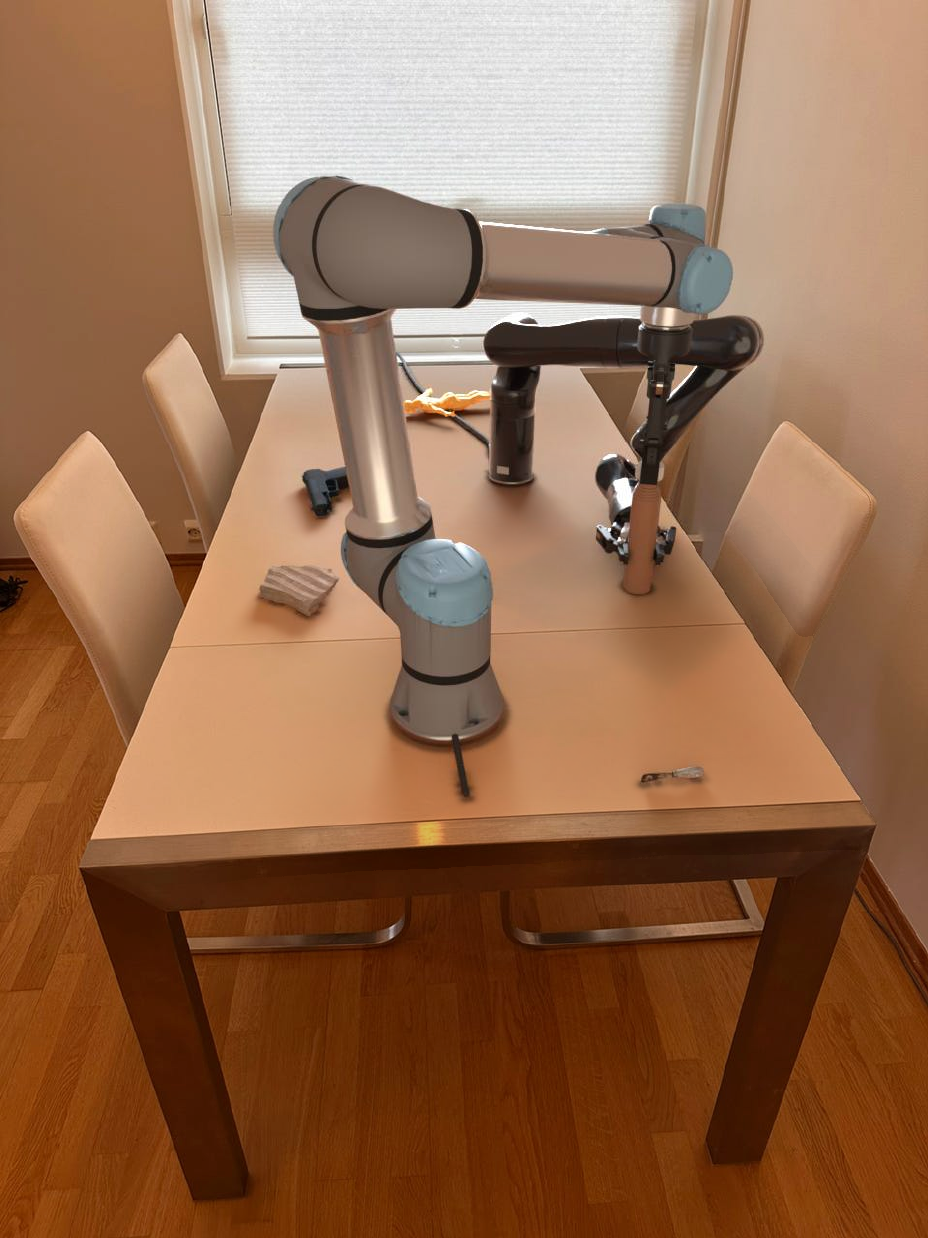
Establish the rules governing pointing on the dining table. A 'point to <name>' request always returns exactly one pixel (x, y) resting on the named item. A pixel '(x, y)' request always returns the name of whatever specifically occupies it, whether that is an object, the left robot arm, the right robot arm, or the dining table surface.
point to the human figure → (445, 402)
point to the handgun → (324, 487)
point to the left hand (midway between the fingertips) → (649, 477)
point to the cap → (638, 470)
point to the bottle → (642, 538)
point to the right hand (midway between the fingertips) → (642, 560)
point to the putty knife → (674, 774)
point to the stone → (298, 586)
